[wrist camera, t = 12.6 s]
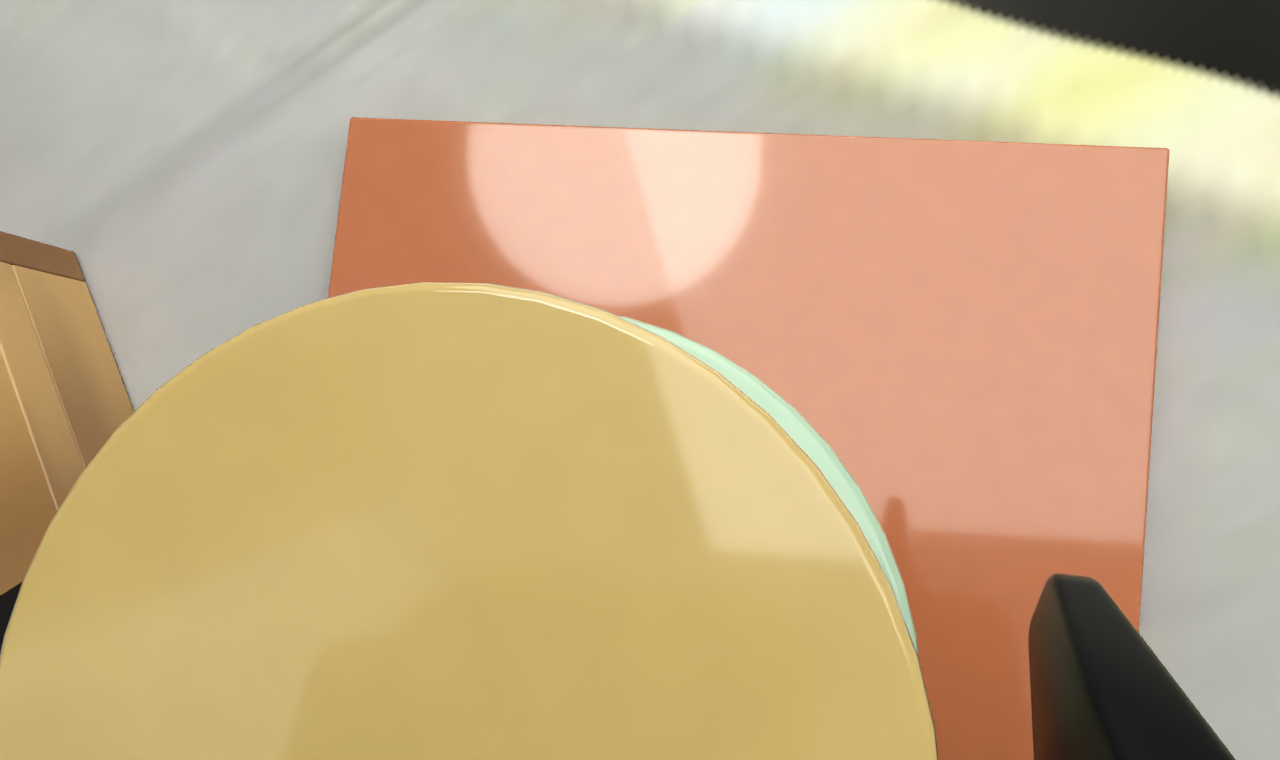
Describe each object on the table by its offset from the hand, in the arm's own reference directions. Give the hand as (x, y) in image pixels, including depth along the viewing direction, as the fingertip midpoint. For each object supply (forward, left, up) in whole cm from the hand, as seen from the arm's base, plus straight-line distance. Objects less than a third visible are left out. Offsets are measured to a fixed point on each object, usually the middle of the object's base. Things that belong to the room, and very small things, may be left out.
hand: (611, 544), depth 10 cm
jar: (-1, 0, -7) cm, 7 cm away
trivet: (-1, 0, -8) cm, 8 cm away
